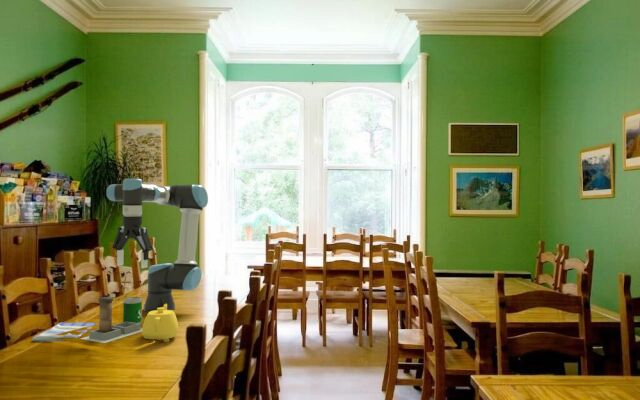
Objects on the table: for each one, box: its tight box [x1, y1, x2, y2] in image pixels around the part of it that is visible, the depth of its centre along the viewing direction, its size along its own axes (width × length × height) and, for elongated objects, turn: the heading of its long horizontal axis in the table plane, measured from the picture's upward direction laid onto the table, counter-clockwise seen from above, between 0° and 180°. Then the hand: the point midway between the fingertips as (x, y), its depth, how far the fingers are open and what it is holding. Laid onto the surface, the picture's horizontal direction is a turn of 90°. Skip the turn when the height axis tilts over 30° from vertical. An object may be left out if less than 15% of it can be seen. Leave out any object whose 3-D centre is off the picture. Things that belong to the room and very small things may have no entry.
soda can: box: [122, 296, 143, 324], centre depth 200 cm, size 8×8×12 cm
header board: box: [79, 321, 142, 344], centre depth 182 cm, size 22×13×4 cm, turn 156°
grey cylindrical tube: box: [98, 296, 114, 333], centre depth 177 cm, size 5×5×15 cm
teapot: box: [141, 304, 179, 344], centre depth 180 cm, size 13×20×12 cm
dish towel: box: [31, 322, 99, 342], centre depth 186 cm, size 17×24×3 cm
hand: (132, 266), depth 189 cm, fingers open, 13 cm apart
